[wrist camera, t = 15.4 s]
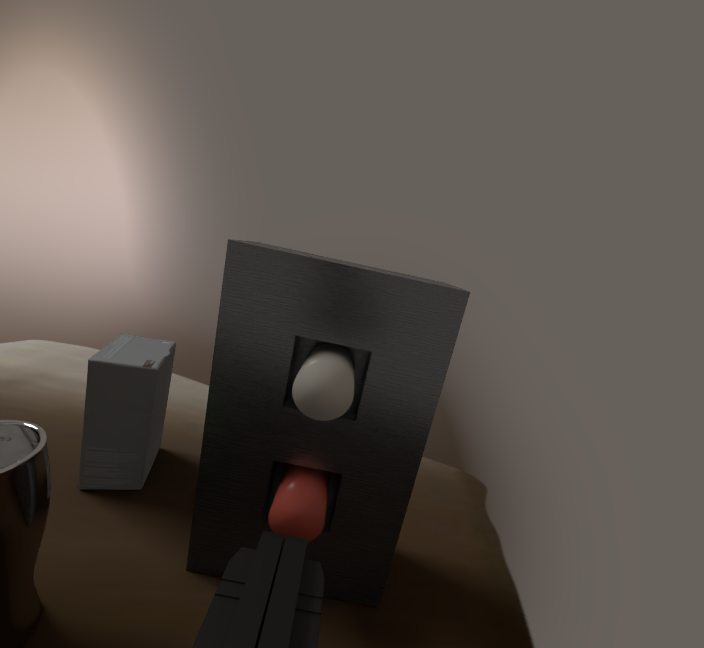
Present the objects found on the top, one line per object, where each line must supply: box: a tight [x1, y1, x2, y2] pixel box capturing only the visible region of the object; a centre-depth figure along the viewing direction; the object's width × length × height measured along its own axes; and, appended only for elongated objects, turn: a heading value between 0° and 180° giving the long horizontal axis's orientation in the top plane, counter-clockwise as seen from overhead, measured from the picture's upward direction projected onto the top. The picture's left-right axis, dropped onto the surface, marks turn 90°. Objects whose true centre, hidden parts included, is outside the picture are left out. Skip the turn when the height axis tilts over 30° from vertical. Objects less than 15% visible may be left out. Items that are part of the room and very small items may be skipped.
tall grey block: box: [186, 240, 470, 607], centre depth 31 cm, size 7×18×30 cm, turn 89°
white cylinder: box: [292, 344, 355, 421], centre depth 26 cm, size 5×4×4 cm
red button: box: [268, 463, 330, 542], centre depth 28 cm, size 5×4×4 cm
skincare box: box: [78, 334, 176, 490], centre depth 39 cm, size 8×7×16 cm
